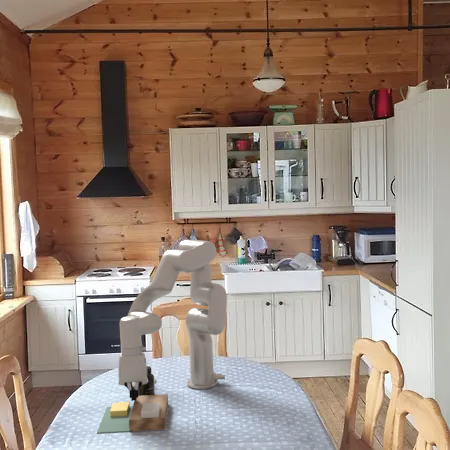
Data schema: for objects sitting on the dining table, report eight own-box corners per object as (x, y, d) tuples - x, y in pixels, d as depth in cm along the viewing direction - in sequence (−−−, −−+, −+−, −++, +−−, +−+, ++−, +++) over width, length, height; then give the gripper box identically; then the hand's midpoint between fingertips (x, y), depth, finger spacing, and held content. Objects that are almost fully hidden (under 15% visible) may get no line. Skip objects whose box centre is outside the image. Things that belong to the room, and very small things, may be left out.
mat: (139, 406, 220) (139, 405, 220) (132, 431, 198) (132, 430, 198) (107, 407, 220) (106, 407, 220) (96, 433, 198) (96, 432, 198)
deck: (168, 404, 221) (167, 394, 220) (165, 429, 199) (164, 418, 199) (136, 406, 220) (135, 395, 220) (129, 431, 198) (128, 420, 198)
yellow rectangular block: (113, 402, 218) (113, 407, 219) (109, 411, 211) (110, 416, 211) (129, 401, 219) (129, 407, 219) (126, 410, 211) (127, 415, 211)
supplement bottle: (151, 401, 224) (150, 371, 223) (134, 400, 226) (133, 370, 225) (157, 394, 231) (155, 365, 230) (140, 394, 232) (139, 364, 231)
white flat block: (160, 408, 207) (160, 402, 207) (158, 417, 199) (158, 411, 199) (143, 408, 207) (143, 403, 207) (141, 418, 199) (140, 412, 199)
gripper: (153, 346, 217) (155, 394, 218) (112, 348, 216) (115, 396, 218) (151, 352, 209) (153, 402, 211) (109, 354, 209) (112, 404, 211)
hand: (134, 399), depth 214 cm, fingers closed
